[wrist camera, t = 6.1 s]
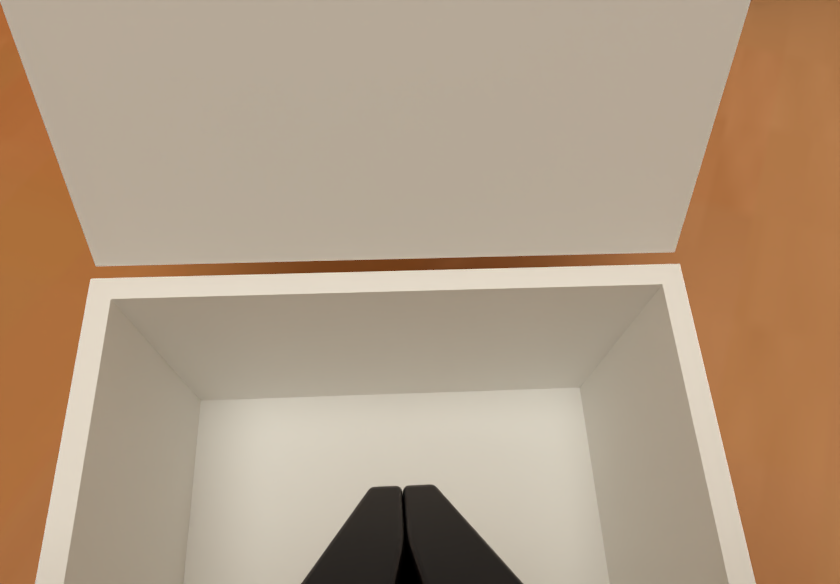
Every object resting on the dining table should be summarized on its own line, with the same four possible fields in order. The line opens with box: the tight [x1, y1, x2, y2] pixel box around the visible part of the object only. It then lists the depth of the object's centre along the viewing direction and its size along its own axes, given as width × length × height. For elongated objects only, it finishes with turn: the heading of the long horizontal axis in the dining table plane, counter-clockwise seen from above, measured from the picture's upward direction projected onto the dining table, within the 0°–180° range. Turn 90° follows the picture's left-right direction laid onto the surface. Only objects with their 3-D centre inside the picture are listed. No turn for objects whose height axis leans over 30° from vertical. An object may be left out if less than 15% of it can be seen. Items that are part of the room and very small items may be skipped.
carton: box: [35, 264, 756, 584], centre depth 16 cm, size 11×13×8 cm
